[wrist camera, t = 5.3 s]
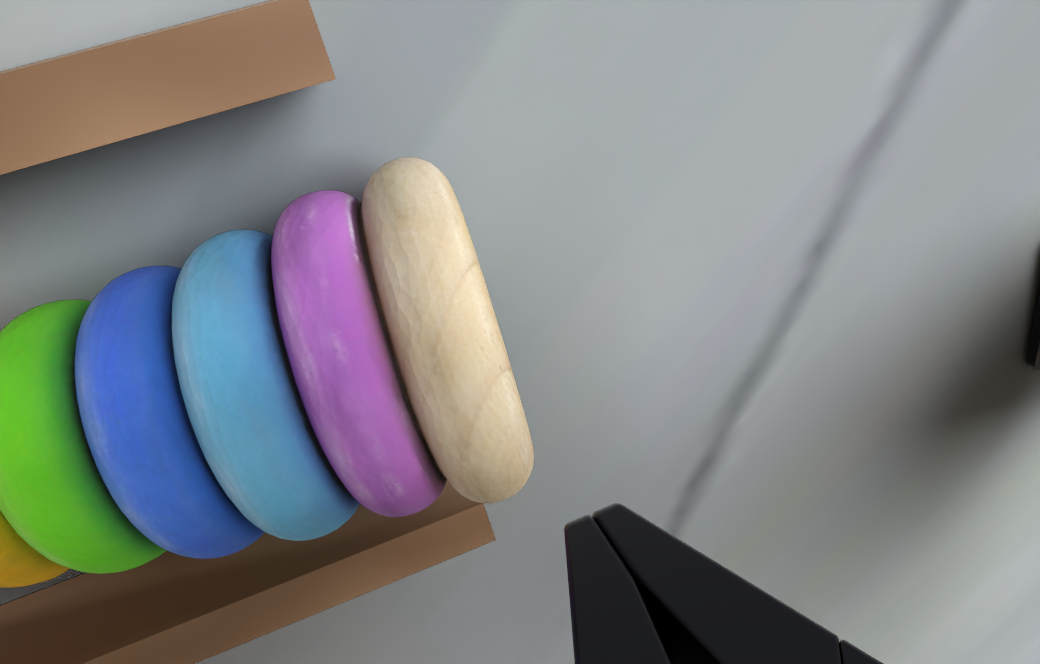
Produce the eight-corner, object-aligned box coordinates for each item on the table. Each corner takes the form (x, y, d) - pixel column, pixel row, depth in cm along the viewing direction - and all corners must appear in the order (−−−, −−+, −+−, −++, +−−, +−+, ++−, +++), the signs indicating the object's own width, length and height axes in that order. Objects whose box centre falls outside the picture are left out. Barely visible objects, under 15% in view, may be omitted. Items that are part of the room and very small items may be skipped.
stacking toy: (571, 561, 14) (-319, 858, 13) (501, 356, 21) (-98, 545, 20) (475, 236, 10) (-859, 645, 9) (425, 106, 17) (-348, 333, 16)
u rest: (467, 466, 22) (495, 539, 19) (-169, 714, 19) (-250, 846, 16) (301, -9, 15) (305, -7, 12) (-762, 272, 12) (-1102, 365, 9)
